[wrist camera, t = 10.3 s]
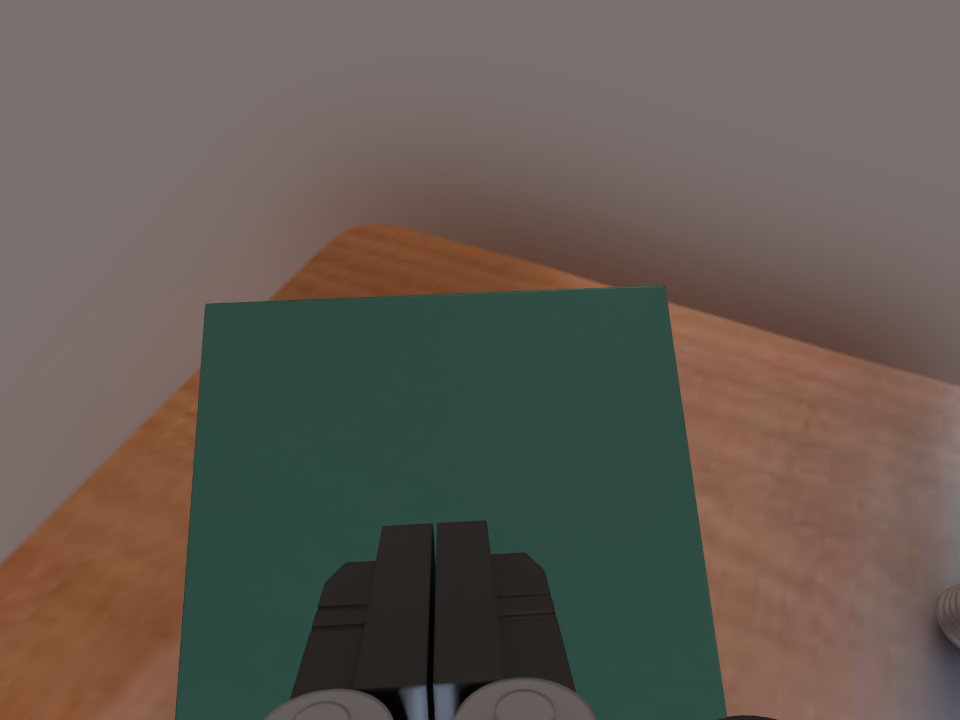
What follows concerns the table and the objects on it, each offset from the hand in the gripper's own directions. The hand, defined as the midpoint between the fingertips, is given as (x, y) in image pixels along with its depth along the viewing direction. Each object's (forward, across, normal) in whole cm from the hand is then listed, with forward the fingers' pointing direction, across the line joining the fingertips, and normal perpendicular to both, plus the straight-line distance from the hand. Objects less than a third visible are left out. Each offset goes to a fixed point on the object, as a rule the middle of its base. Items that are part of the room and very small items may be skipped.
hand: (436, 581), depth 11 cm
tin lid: (+7, 0, +4) cm, 8 cm away
